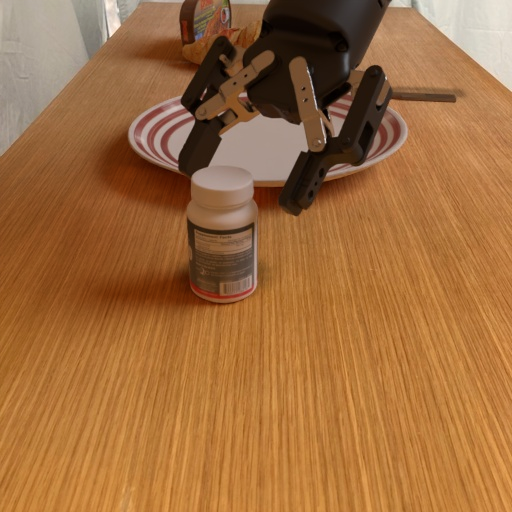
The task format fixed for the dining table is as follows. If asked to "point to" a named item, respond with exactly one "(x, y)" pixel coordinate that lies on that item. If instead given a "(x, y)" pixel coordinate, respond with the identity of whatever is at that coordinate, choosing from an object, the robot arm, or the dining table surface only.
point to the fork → (424, 97)
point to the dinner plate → (254, 141)
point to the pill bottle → (222, 234)
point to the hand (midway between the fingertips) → (235, 192)
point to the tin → (203, 19)
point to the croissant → (235, 36)
